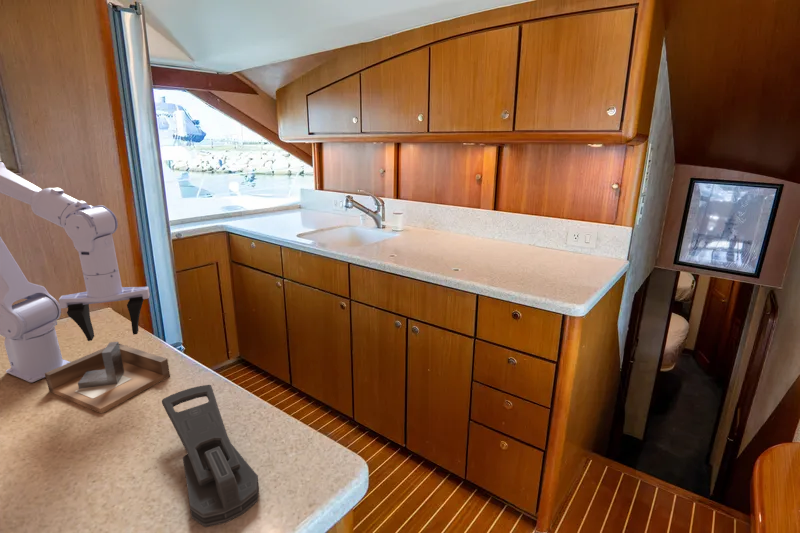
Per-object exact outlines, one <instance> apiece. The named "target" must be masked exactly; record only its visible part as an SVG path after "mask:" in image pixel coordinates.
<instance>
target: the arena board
mask: <svg viewBox="0 0 800 533" xmlns="http://www.w3.org/2000/svg"><path fill="white" fill-rule="evenodd" d="M122 362H123V361H122ZM123 367H124V374H123V375H122V377H121V379H120V380H119V382H118V384H113V385H105V386H97V387H89V388H81V389H79V387H78V382H79V381H80V380H81V378H82V377H83V376H84V375H82V376H80V377H78V378H75V379H73V380H71V381H69V382H67V383H65V384H62V385H60V386H58V387H56V388H54V389H52V388H50V392H49V393H52V394H54V395H57V396H59V397H62V398H64V399H66V400H68V401H71V402H73V403H75V404H78V405H80V406H82V407H85V408H87V409H90V410H92V411H95V412H97V413H99V414H103V413H105V412H106V413H107V411H110V410H111V409H113V408H115V407H117V406H119V405H120V404H122V403H124V402H125V401H127V400H129V399H131V398H132V397H134V396H137V395H139V393H142V392H143V391H145V390H147V389H149V388H151V387H152V386H153V387H154V385H156V384H158V383H161V382H162V381H164V380H165V379H166V378H164V376H166V375H167V376H166V377H167V378H169V377H171V373H170V374H168V373H169V372H170V371H169V372H168V373H167V374H164V375H161V374H158V373H155V372H152V371H149V370H146V369H143V368H140V367H137V366H134V365H131V364H128V363H125V362H123ZM102 369H105V366H102V367H99V368H97V369H95V370H102ZM93 371H94V370H93ZM47 387H48V386H47ZM47 389H49V387H48V388H47ZM51 389H52V391H53V392H54V393H53V392H51Z"/></svg>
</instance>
